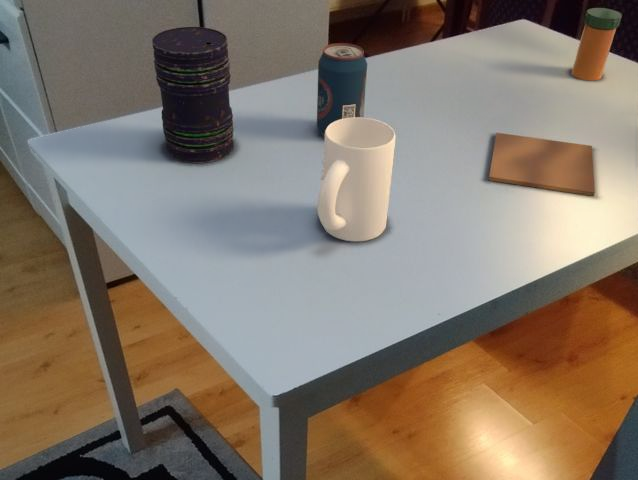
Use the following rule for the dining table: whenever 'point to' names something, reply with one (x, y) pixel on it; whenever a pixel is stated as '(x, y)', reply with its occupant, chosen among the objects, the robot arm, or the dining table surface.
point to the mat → (543, 164)
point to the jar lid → (602, 18)
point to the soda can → (340, 84)
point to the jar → (592, 53)
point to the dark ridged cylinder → (194, 93)
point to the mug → (356, 178)
